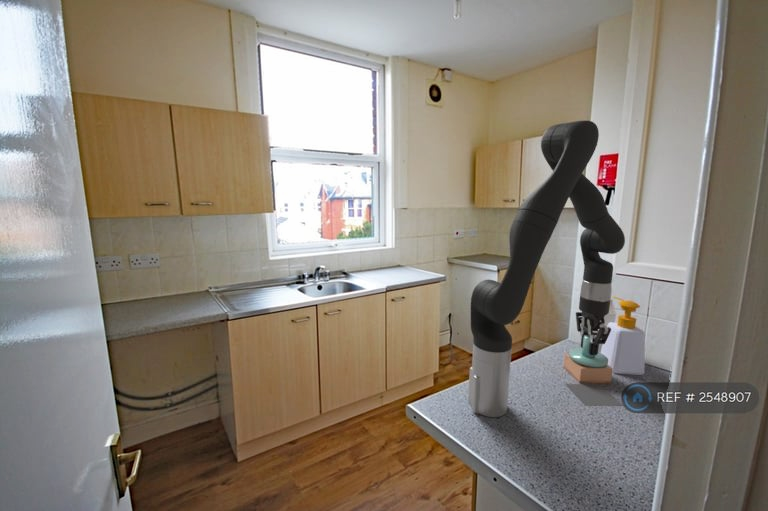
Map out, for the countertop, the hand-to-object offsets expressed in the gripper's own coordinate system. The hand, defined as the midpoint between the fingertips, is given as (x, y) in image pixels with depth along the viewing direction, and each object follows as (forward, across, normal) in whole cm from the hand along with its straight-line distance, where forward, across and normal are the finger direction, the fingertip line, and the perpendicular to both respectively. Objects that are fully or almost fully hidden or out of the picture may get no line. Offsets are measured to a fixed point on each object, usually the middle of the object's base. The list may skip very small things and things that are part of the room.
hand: (588, 351), depth 101 cm
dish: (+8, 0, 0) cm, 8 cm away
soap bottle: (+8, -7, +14) cm, 18 cm away
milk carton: (+8, -17, +13) cm, 23 cm away
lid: (+2, 0, 0) cm, 2 cm away
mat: (+8, +10, -4) cm, 14 cm away
